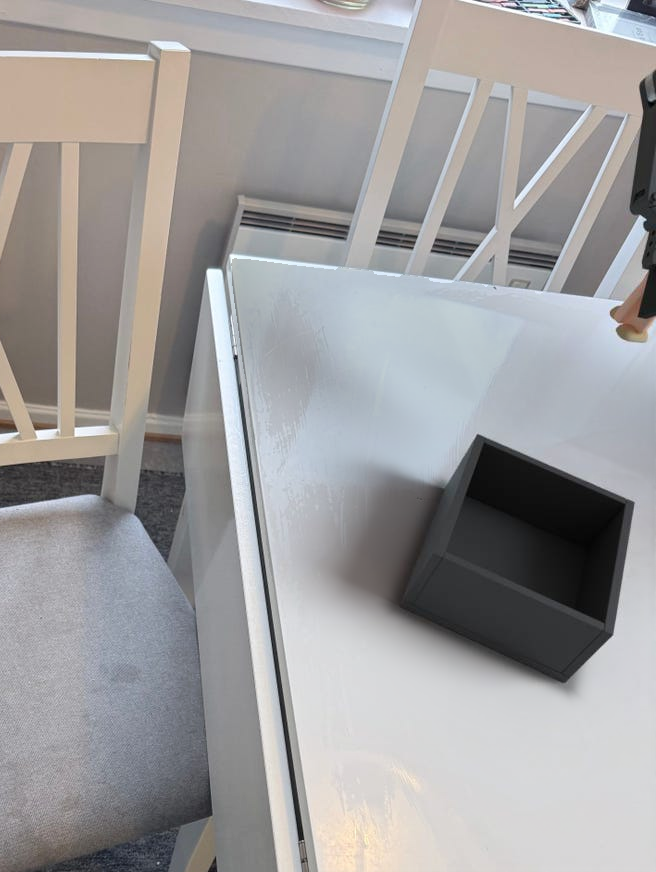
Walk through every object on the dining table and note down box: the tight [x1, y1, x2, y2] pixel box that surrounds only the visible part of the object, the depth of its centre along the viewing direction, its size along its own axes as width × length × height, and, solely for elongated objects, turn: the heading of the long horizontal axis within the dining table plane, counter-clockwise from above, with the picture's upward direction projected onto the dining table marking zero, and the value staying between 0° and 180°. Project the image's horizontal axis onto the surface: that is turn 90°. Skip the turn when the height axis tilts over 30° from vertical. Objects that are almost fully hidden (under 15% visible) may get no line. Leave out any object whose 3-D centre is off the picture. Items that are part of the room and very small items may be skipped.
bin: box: [399, 433, 636, 683], centre depth 73 cm, size 15×17×7 cm
